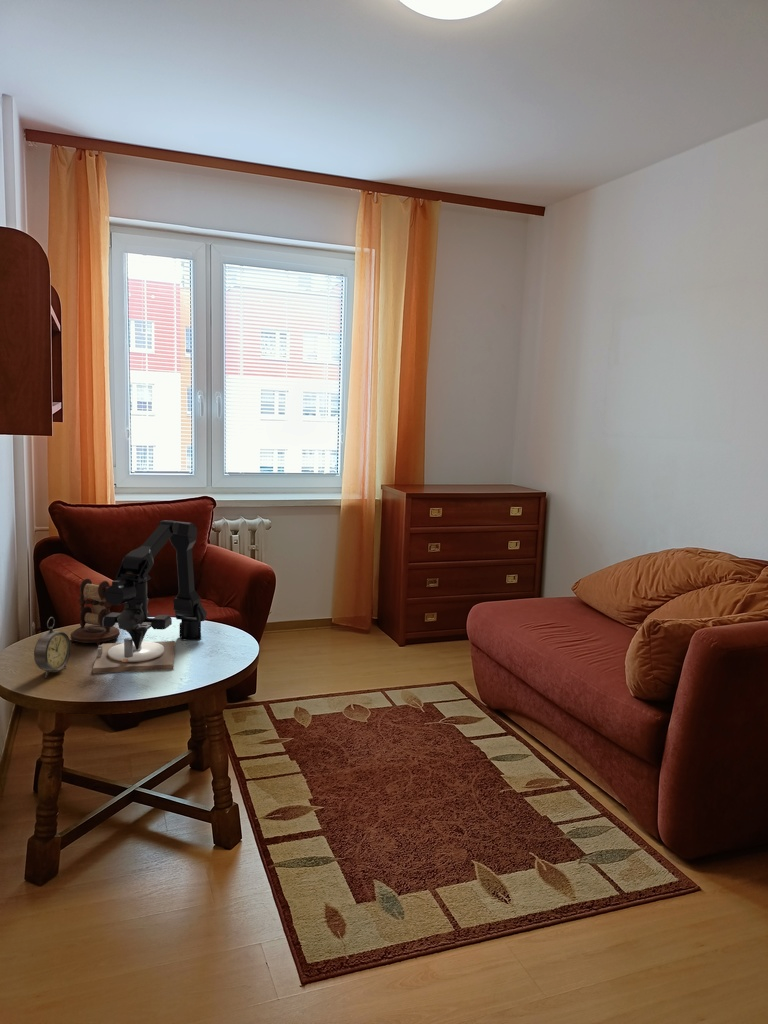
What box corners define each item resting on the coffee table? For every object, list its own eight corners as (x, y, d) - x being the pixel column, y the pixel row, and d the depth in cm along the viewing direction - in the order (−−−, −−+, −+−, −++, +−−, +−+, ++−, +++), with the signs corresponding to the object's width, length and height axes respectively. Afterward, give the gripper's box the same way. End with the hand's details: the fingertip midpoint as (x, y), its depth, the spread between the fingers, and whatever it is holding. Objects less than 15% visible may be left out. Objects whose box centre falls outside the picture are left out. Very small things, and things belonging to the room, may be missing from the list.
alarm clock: (47, 680, 197) (46, 623, 195) (30, 678, 198) (29, 621, 196) (72, 667, 208) (71, 613, 206) (56, 665, 209) (55, 611, 207)
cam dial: (121, 643, 226) (120, 623, 225) (171, 645, 225) (171, 626, 224) (96, 661, 208) (96, 641, 207) (151, 664, 208) (151, 644, 207)
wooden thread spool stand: (129, 636, 238) (128, 577, 236) (100, 649, 224) (99, 587, 221) (91, 630, 242) (90, 572, 239) (60, 643, 228) (59, 582, 225)
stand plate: (175, 645, 231) (175, 633, 230) (173, 669, 210) (173, 656, 209) (102, 648, 225) (101, 636, 225) (92, 673, 204) (92, 659, 204)
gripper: (92, 602, 202) (93, 656, 204) (156, 606, 200) (157, 660, 202) (110, 593, 213) (112, 644, 215) (172, 596, 211) (172, 647, 213)
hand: (137, 649), depth 211 cm, fingers closed
